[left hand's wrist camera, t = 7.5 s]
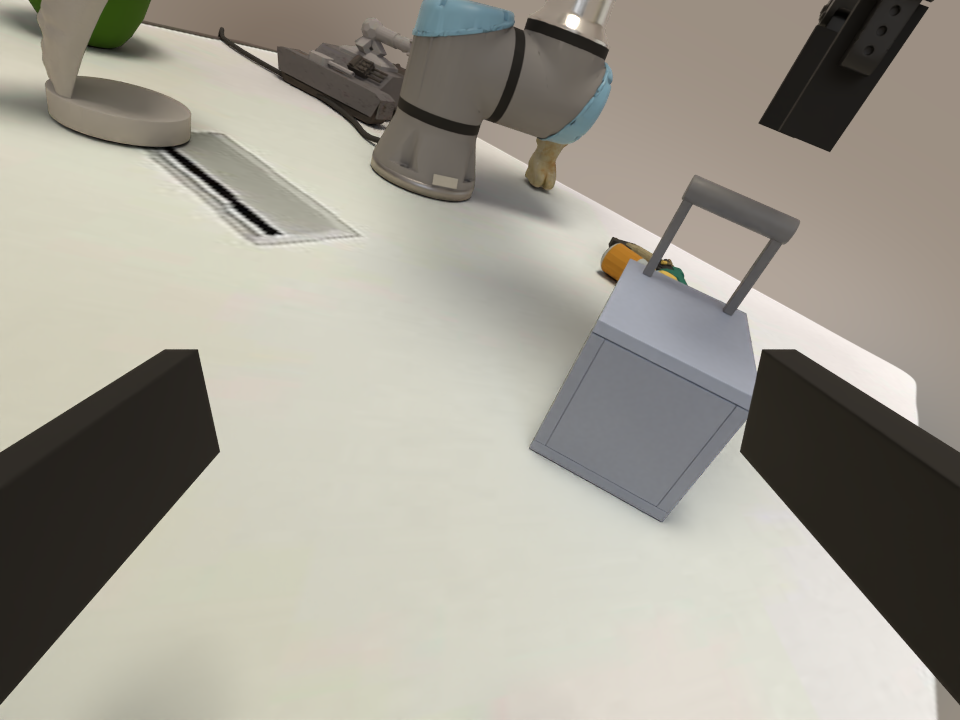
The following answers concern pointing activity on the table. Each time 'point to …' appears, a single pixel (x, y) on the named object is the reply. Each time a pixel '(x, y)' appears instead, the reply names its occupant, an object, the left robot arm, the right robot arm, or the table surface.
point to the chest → (635, 426)
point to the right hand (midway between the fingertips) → (786, 135)
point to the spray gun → (624, 251)
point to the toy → (351, 72)
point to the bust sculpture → (101, 85)
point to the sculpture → (544, 164)
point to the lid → (695, 302)
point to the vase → (114, 21)
